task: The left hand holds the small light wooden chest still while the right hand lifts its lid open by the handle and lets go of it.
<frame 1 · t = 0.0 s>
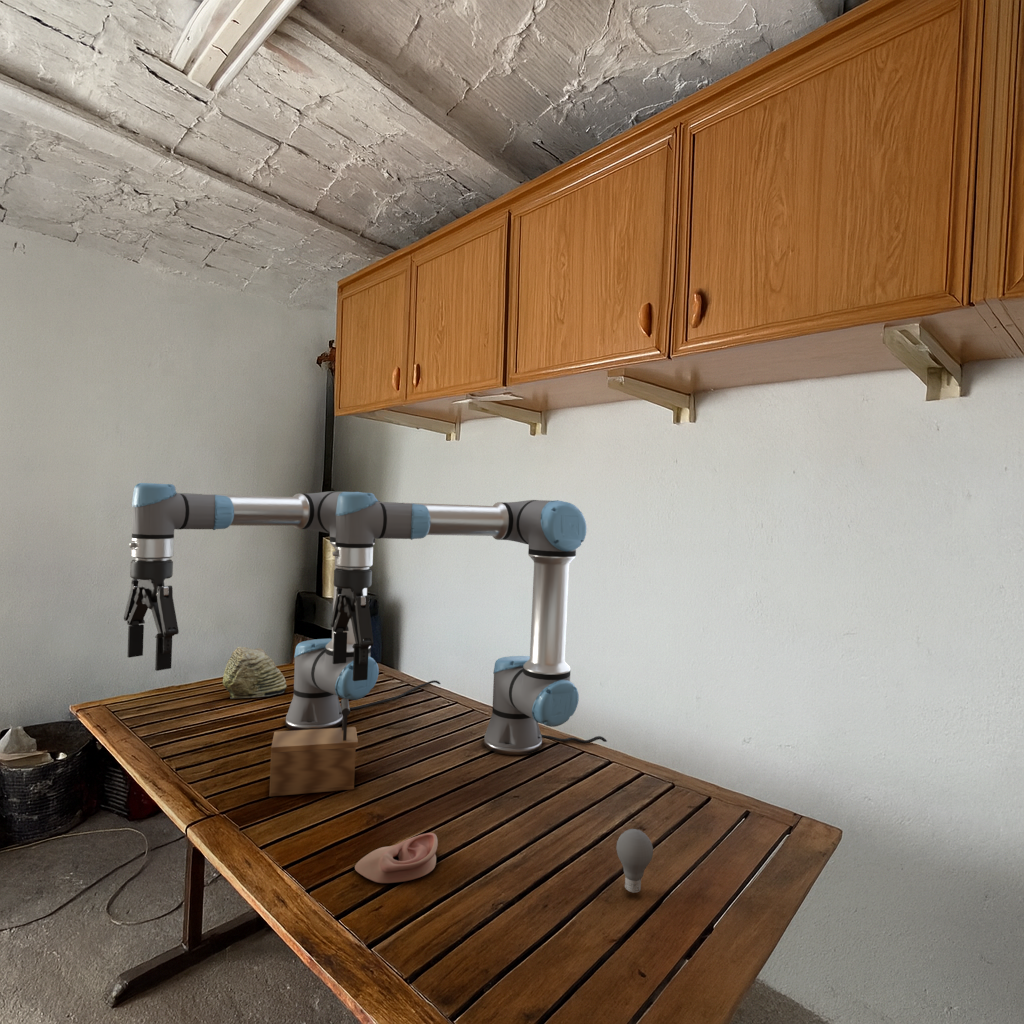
left hand: (148, 662, 129), 28 cm above the table, tool pointing down, fingers open, 13 cm apart
right hand: (349, 671, 129), 28 cm above the table, tool pointing down, fingers open, 13 cm apart
chest: (312, 783, 140), on the table
light bulb: (632, 891, 106), on the table
lid: (316, 723, 140), point 13 cm above the table, hinge at 0.0°
anatomical model: (396, 866, 110), on the table
fossil: (254, 694, 198), on the table
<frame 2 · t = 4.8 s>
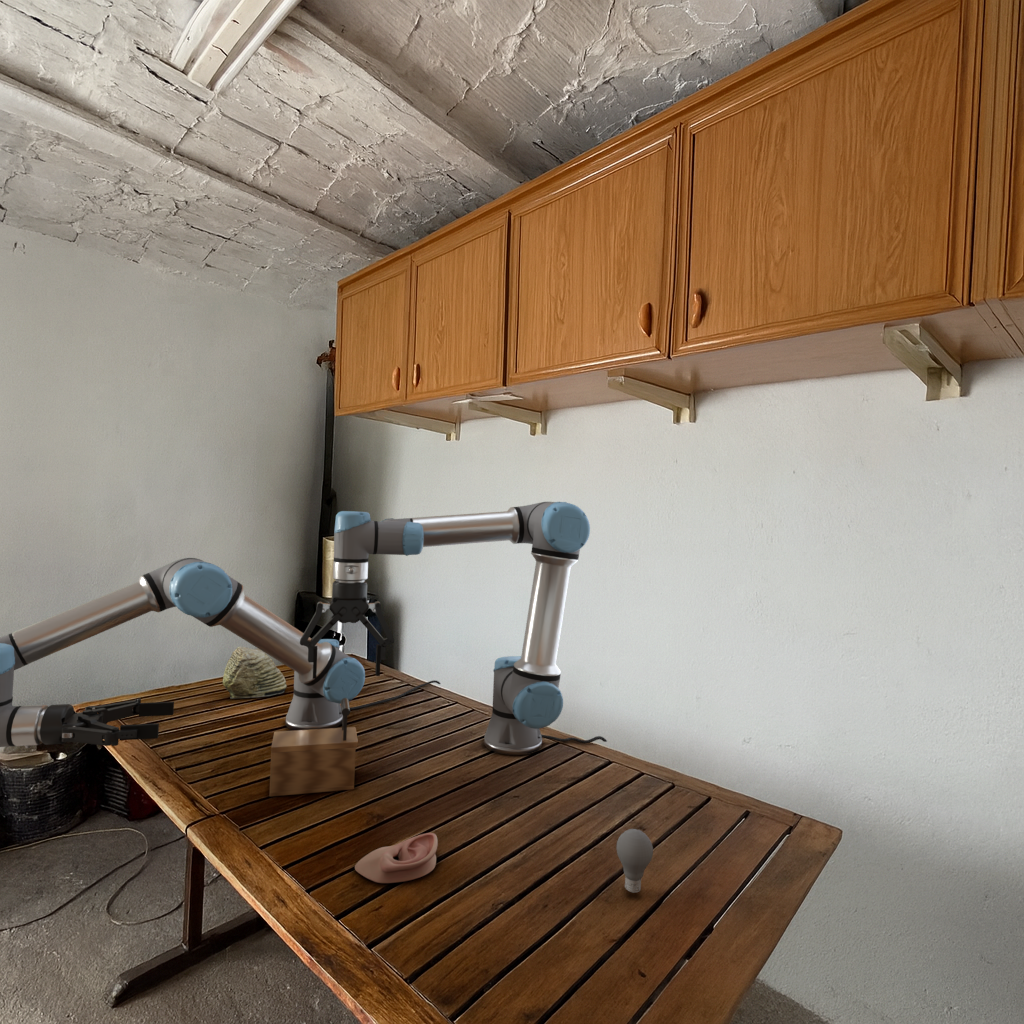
left hand: (166, 719, 131), 16 cm above the table, tool horizontal, fingers open, 13 cm apart
right hand: (346, 675, 141), 24 cm above the table, tool pointing down, fingers open, 13 cm apart
nothing on the table moved.
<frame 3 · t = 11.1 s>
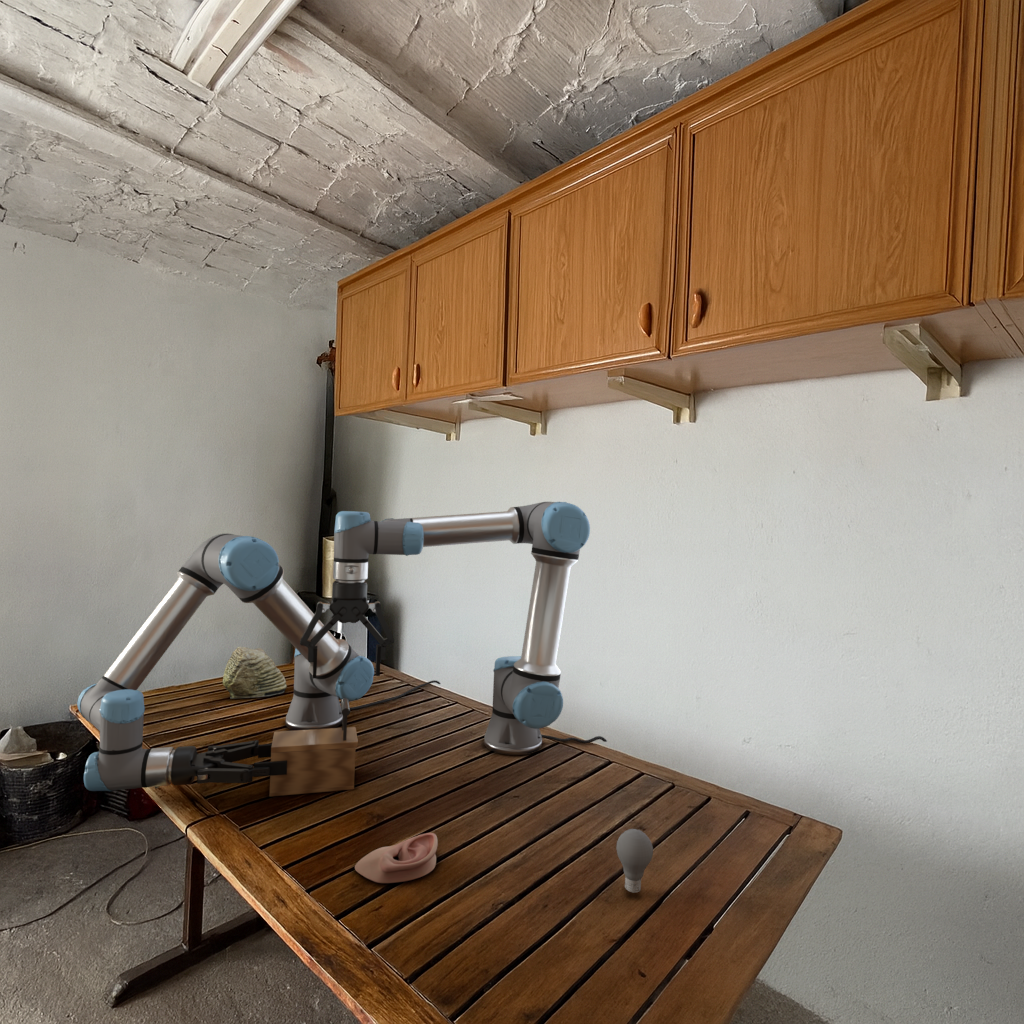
left hand: (288, 758, 138), 6 cm above the table, tool horizontal, fingers closed on chest, 9 cm apart
right hand: (346, 675, 141), 24 cm above the table, tool pointing down, fingers open, 13 cm apart
chest: (312, 783, 140), on the table, touching left hand
everything else where it was.
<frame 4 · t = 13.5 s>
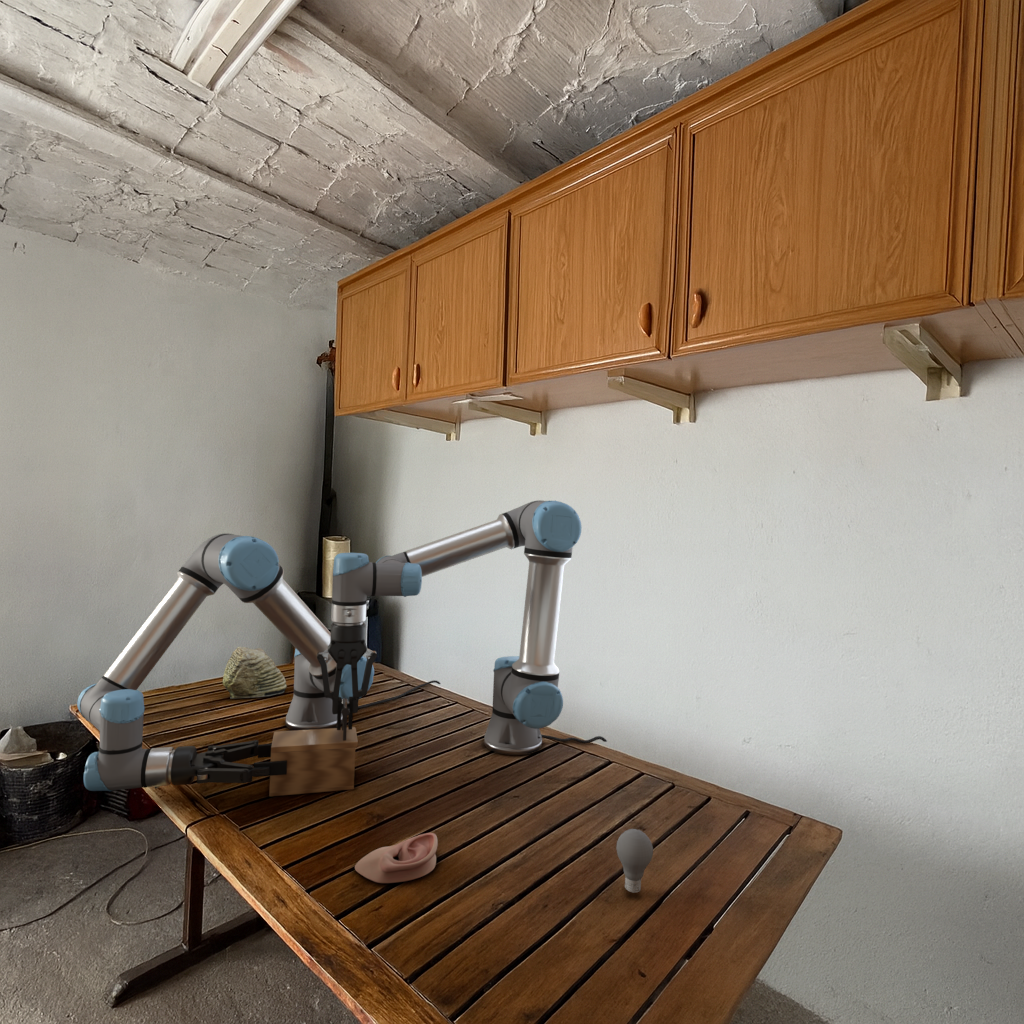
left hand: (287, 757, 138), 6 cm above the table, tool horizontal, fingers closed on chest, 9 cm apart
right hand: (344, 727, 141), 12 cm above the table, tool pointing down, fingers closed on lid, 2 cm apart
chest: (312, 783, 140), on the table, touching left hand
lid: (316, 723, 140), point 13 cm above the table, hinge at -0.1°, touching right hand
everything else where it was.
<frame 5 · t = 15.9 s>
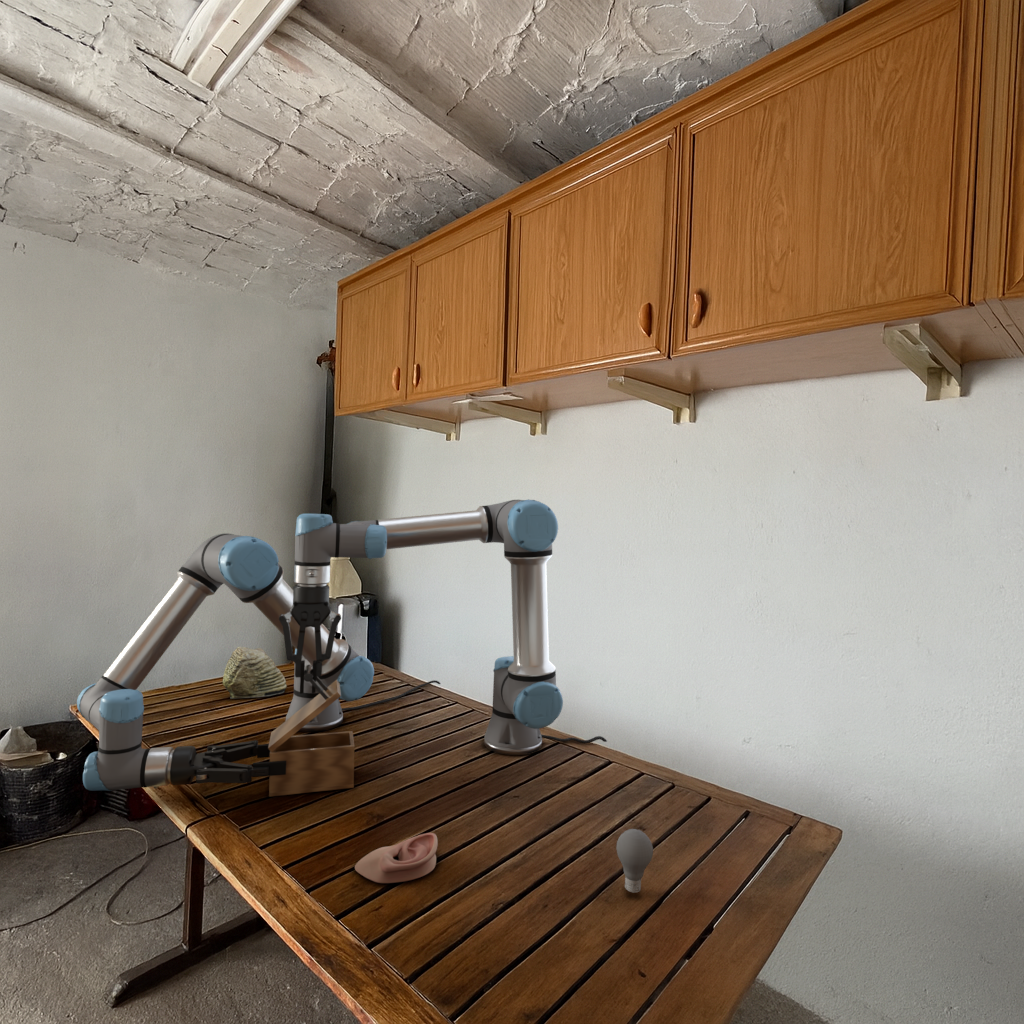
left hand: (287, 758, 138), 6 cm above the table, tool horizontal, fingers closed on chest, 9 cm apart
right hand: (307, 691, 139), 21 cm above the table, tool pointing down, fingers closed on lid, 2 cm apart
chest: (312, 782, 140), on the table, touching left hand
lid: (295, 702, 138), point 18 cm above the table, hinge at 38.5°, touching right hand
everything else where it was.
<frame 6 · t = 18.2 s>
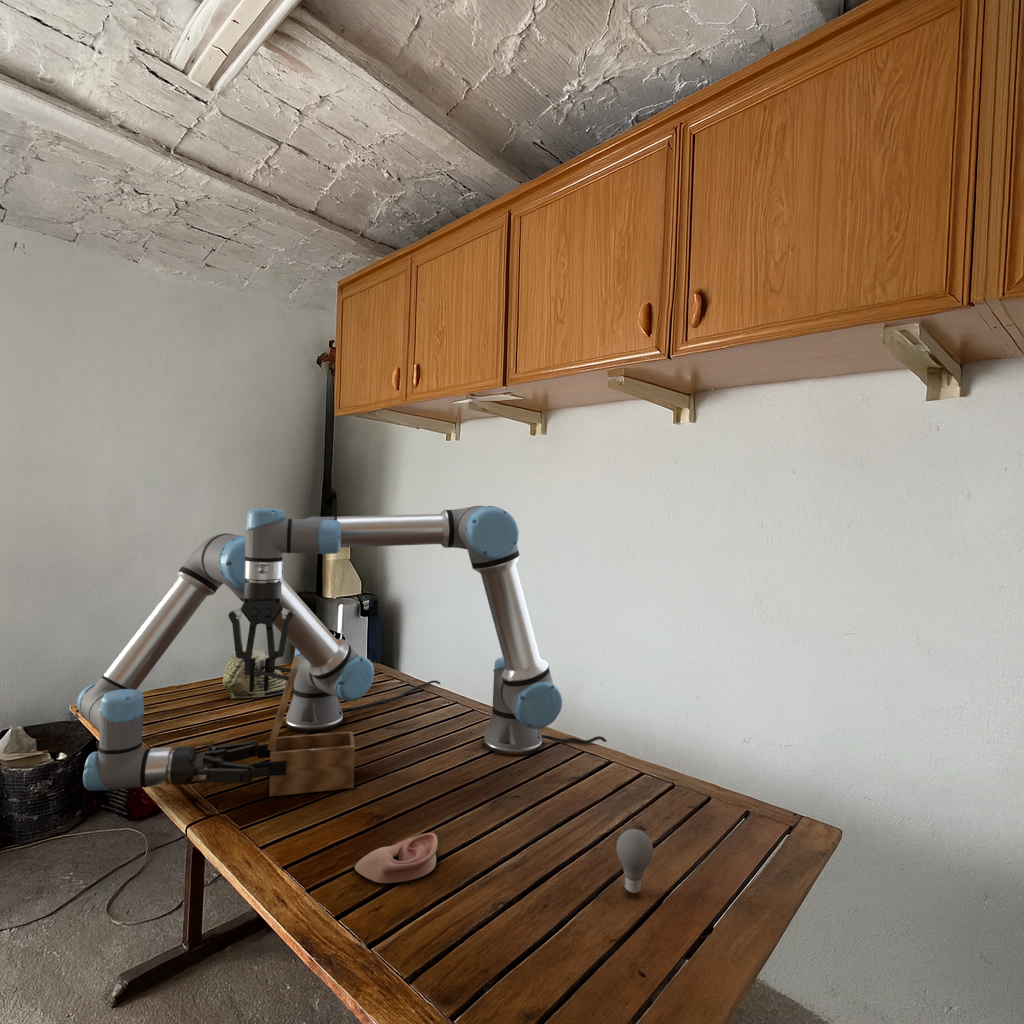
left hand: (287, 758, 138), 6 cm above the table, tool horizontal, fingers closed on chest, 9 cm apart
right hand: (259, 689, 136), 21 cm above the table, tool pointing down, fingers open, 2 cm apart
chest: (312, 782, 140), on the table, touching left hand
lid: (267, 699, 136), point 19 cm above the table, hinge at 74.8°
everything else where it was.
when the left hand's fingers open (6 cm above the table, at t = 22.4 s): chest stays where it is, on the table.
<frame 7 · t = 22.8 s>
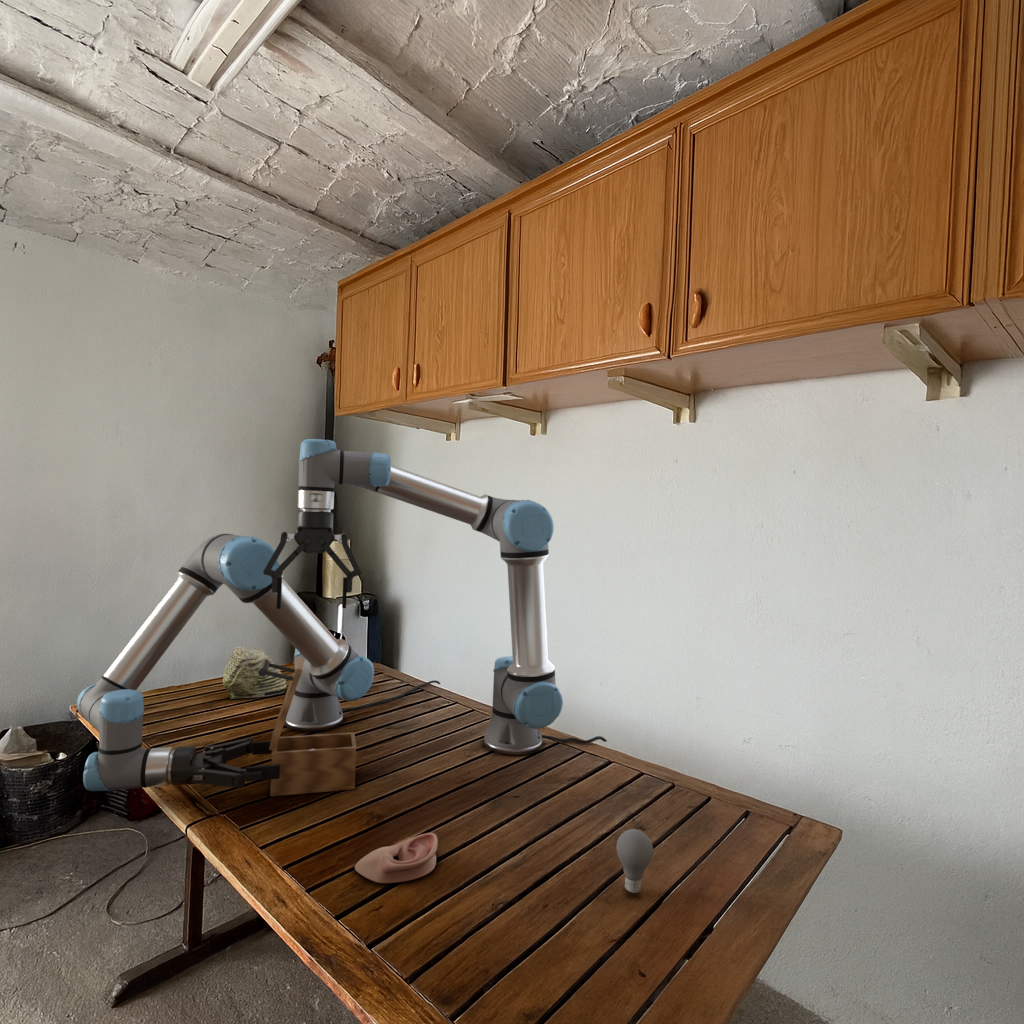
left hand: (281, 758, 138), 6 cm above the table, tool horizontal, fingers open, 13 cm apart
right hand: (311, 607, 139), 39 cm above the table, tool pointing down, fingers open, 13 cm apart
chest: (313, 783, 140), on the table
lid: (270, 698, 137), point 19 cm above the table, hinge at 73.8°
everything else where it was.
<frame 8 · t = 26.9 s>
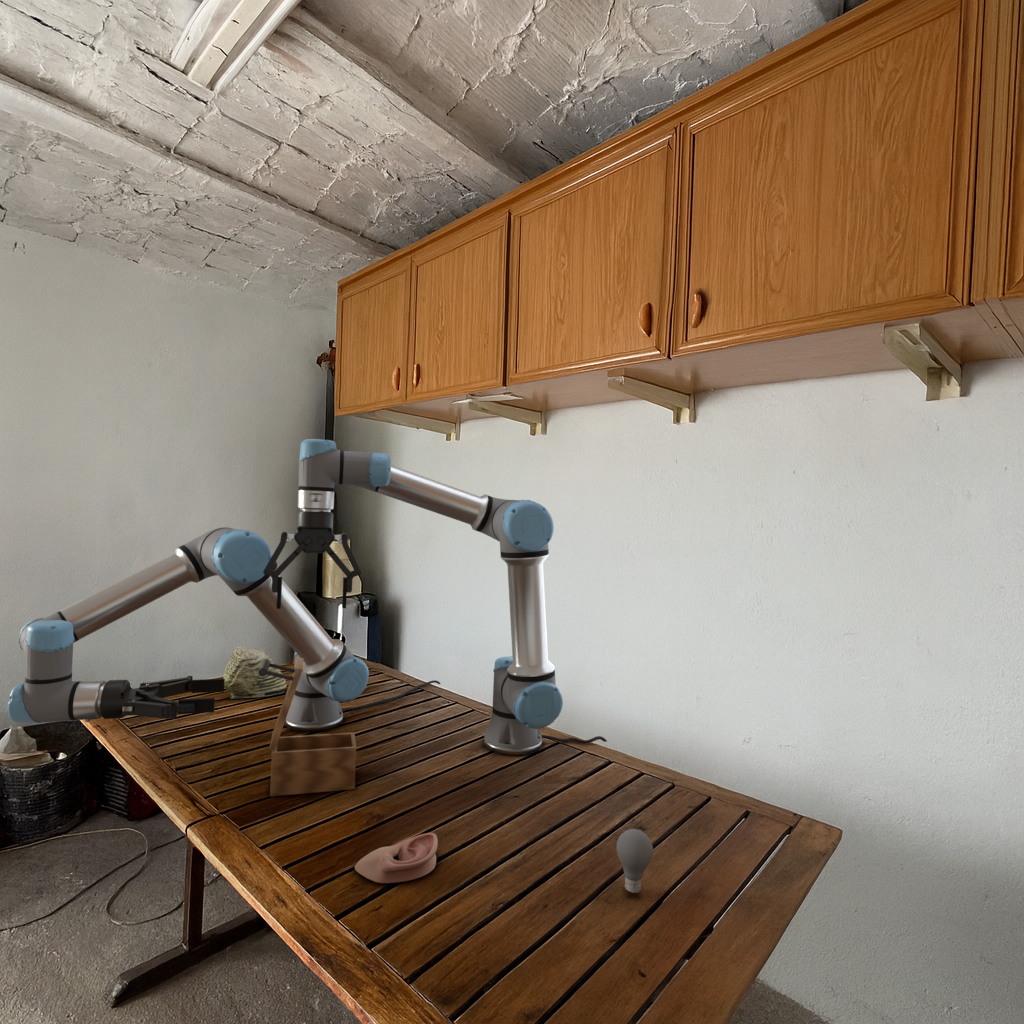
left hand: (219, 694, 134), 21 cm above the table, tool horizontal, fingers open, 13 cm apart
right hand: (311, 607, 139), 39 cm above the table, tool pointing down, fingers open, 13 cm apart
nothing on the table moved.
at the end: lid at +74° (first picture: +0°); the left hand is holding nothing; the right hand is holding nothing; chest tilted 0°; chest never tilted more than 2° during the clip; chest moved 0.1 cm from its start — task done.
